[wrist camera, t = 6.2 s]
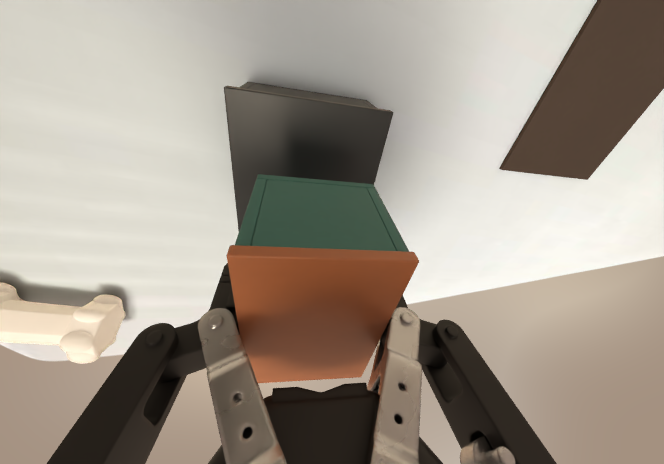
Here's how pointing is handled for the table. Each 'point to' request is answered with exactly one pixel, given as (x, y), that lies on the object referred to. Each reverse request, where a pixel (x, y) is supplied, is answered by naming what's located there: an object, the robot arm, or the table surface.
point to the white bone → (61, 324)
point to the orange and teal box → (315, 277)
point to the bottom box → (301, 137)
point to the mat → (595, 91)
